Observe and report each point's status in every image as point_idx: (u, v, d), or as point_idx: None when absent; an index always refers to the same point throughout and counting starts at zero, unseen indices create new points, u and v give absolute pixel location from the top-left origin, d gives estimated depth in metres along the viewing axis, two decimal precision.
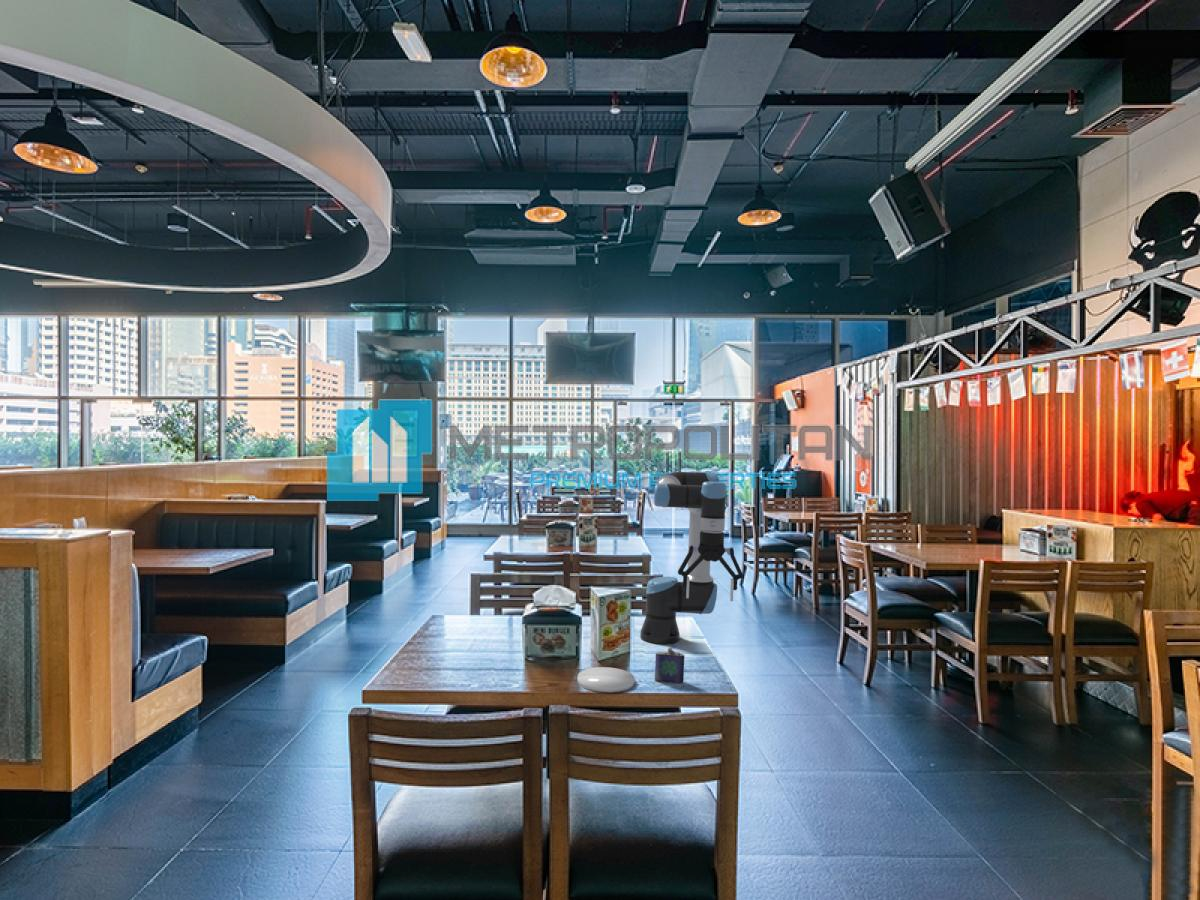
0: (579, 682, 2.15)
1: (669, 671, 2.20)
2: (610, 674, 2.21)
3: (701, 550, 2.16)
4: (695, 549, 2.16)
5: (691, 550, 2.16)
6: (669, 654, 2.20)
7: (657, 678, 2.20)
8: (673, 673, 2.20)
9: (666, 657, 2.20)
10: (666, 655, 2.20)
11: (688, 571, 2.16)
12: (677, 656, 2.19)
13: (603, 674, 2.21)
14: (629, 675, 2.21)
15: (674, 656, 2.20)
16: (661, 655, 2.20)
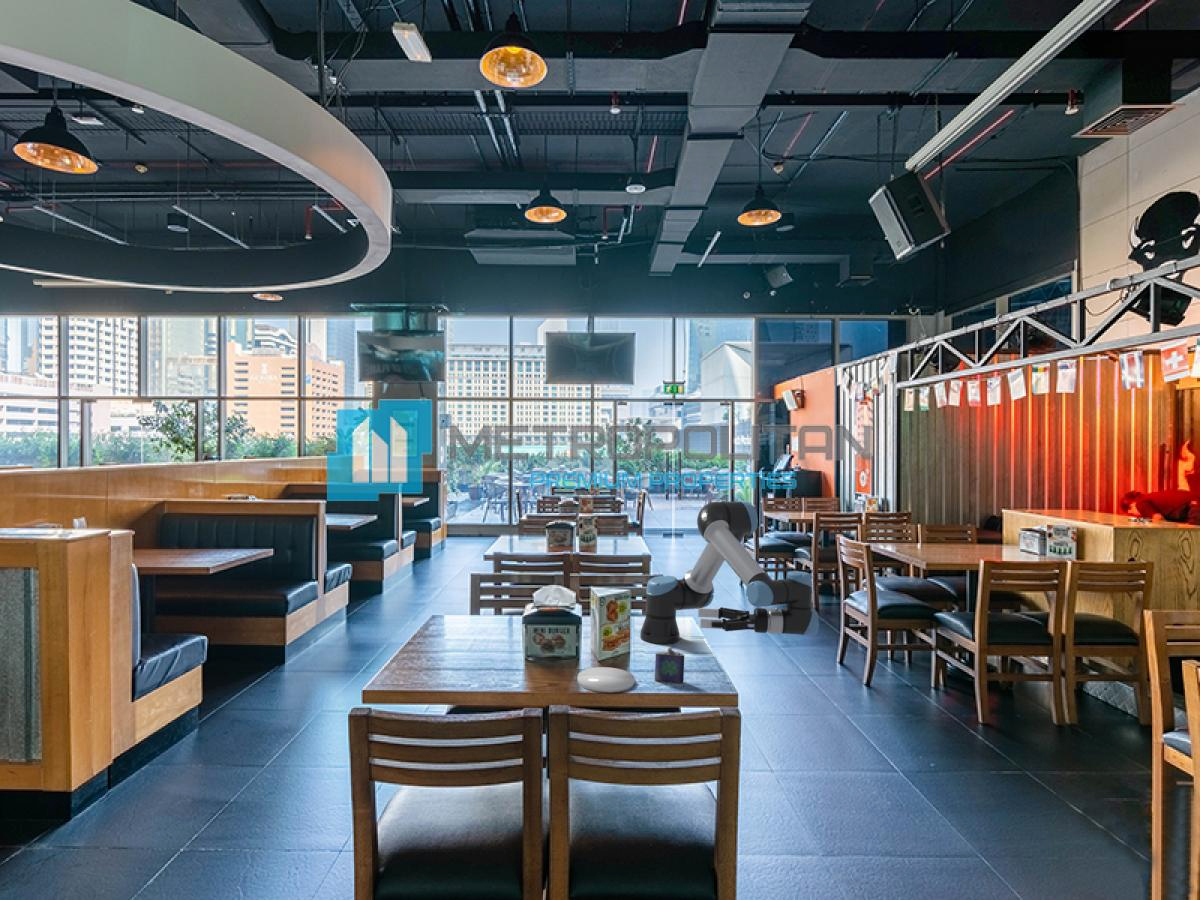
0: (579, 682, 2.15)
1: (669, 671, 2.20)
2: (610, 674, 2.21)
3: None
4: None
5: (745, 611, 2.25)
6: (669, 654, 2.20)
7: (657, 679, 2.20)
8: (673, 673, 2.20)
9: (666, 657, 2.20)
10: (666, 655, 2.20)
11: (724, 609, 2.26)
12: (677, 656, 2.19)
13: (603, 674, 2.21)
14: (629, 675, 2.21)
15: (674, 656, 2.20)
16: (661, 655, 2.20)
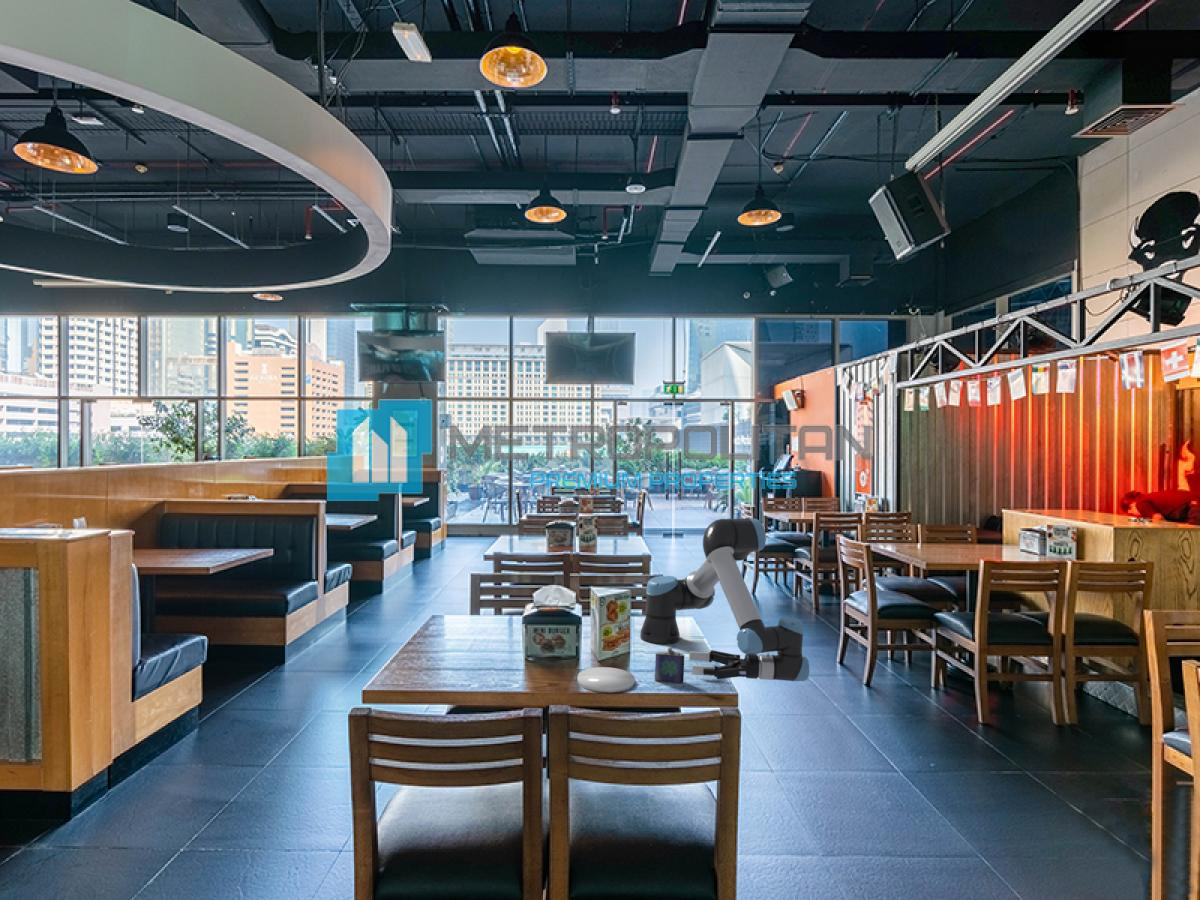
0: (579, 682, 2.15)
1: (669, 671, 2.20)
2: (610, 674, 2.21)
3: None
4: None
5: (735, 655, 2.26)
6: (669, 654, 2.20)
7: (657, 678, 2.20)
8: (673, 673, 2.20)
9: (666, 657, 2.20)
10: (666, 655, 2.20)
11: (715, 653, 2.27)
12: (677, 656, 2.19)
13: (603, 674, 2.21)
14: (629, 675, 2.21)
15: (674, 656, 2.20)
16: (661, 655, 2.20)
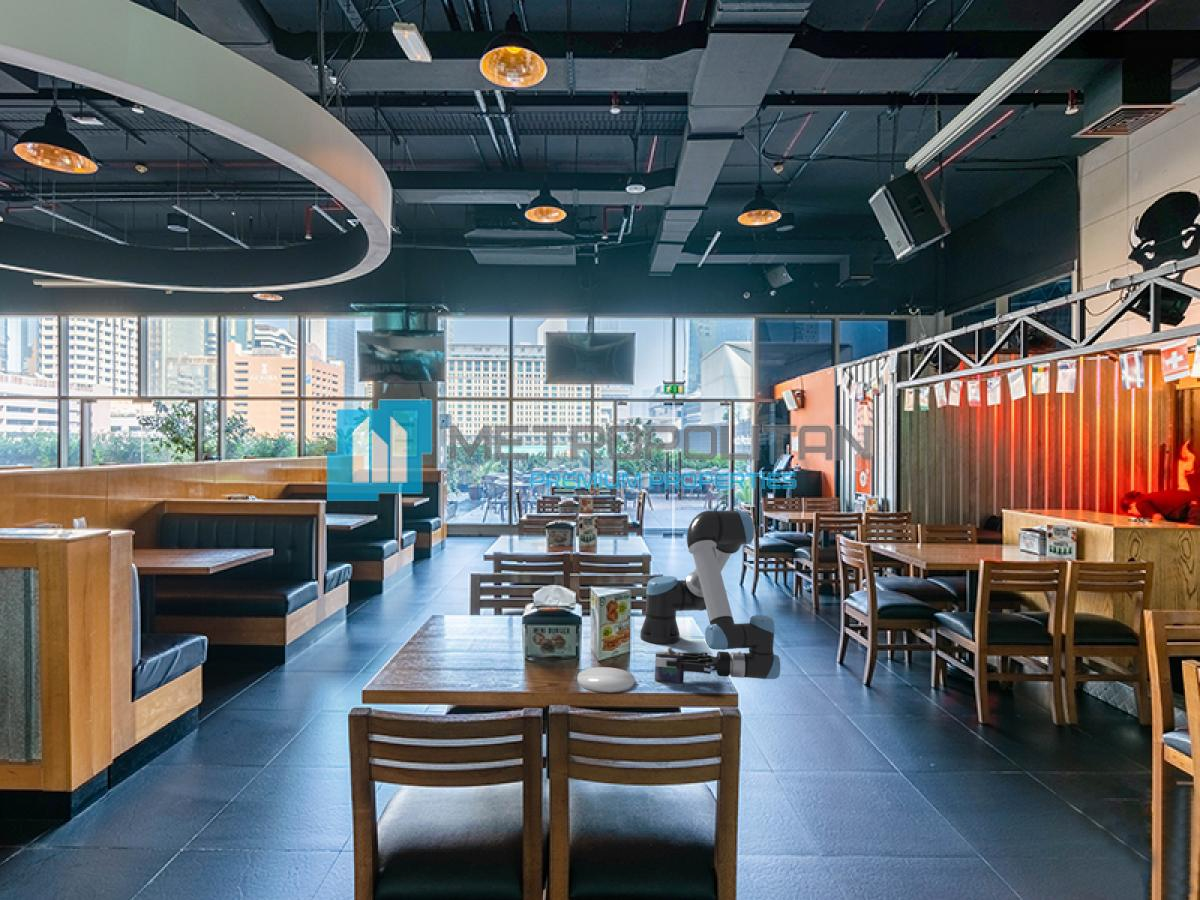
0: (579, 682, 2.15)
1: (669, 671, 2.20)
2: (610, 674, 2.21)
3: None
4: None
5: (703, 653, 2.26)
6: (669, 654, 2.20)
7: (657, 678, 2.20)
8: (673, 673, 2.20)
9: (666, 657, 2.20)
10: (666, 655, 2.20)
11: None
12: (677, 656, 2.20)
13: (603, 674, 2.21)
14: (629, 675, 2.21)
15: (674, 656, 2.20)
16: (661, 655, 2.20)
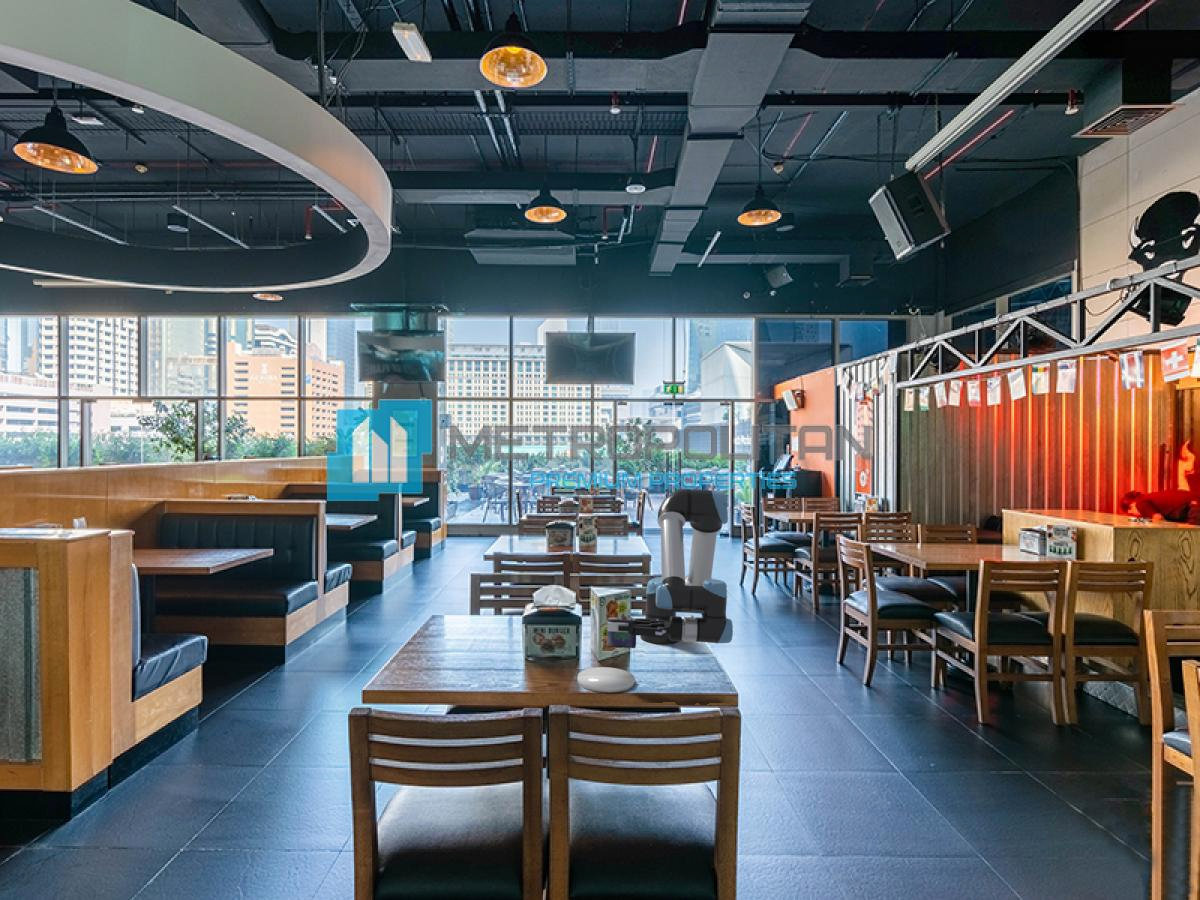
0: (579, 682, 2.15)
1: (622, 636, 2.18)
2: (610, 674, 2.21)
3: None
4: None
5: (657, 619, 2.23)
6: (621, 619, 2.18)
7: (609, 644, 2.17)
8: (626, 638, 2.17)
9: (618, 622, 2.17)
10: (618, 620, 2.17)
11: None
12: (629, 621, 2.17)
13: (603, 674, 2.21)
14: (629, 675, 2.21)
15: (626, 621, 2.17)
16: (613, 620, 2.17)
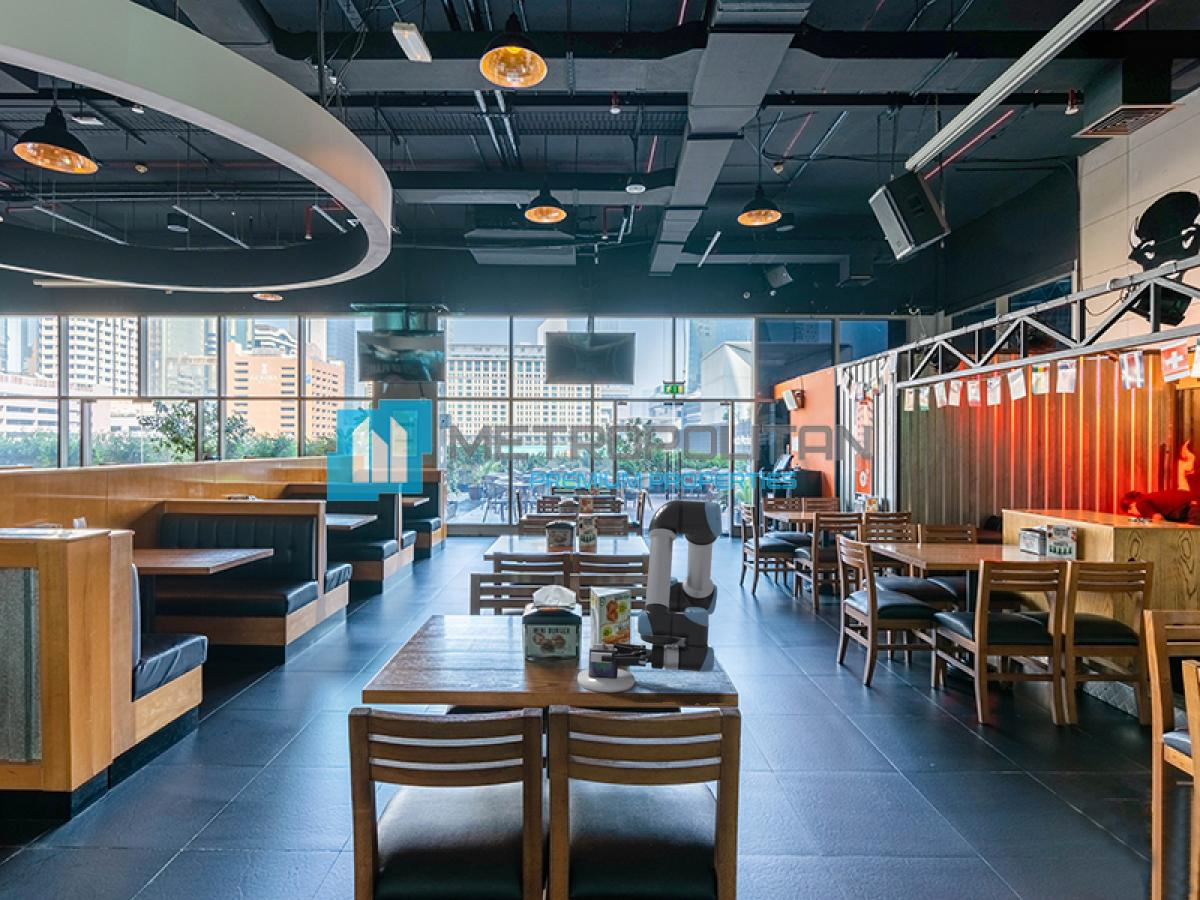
0: (579, 682, 2.15)
1: (603, 666, 2.18)
2: None
3: None
4: None
5: (641, 645, 2.24)
6: (603, 649, 2.18)
7: (591, 674, 2.17)
8: (607, 669, 2.17)
9: (600, 652, 2.17)
10: (600, 650, 2.17)
11: (619, 645, 2.23)
12: (611, 651, 2.17)
13: None
14: (629, 675, 2.21)
15: (608, 651, 2.17)
16: (595, 650, 2.17)
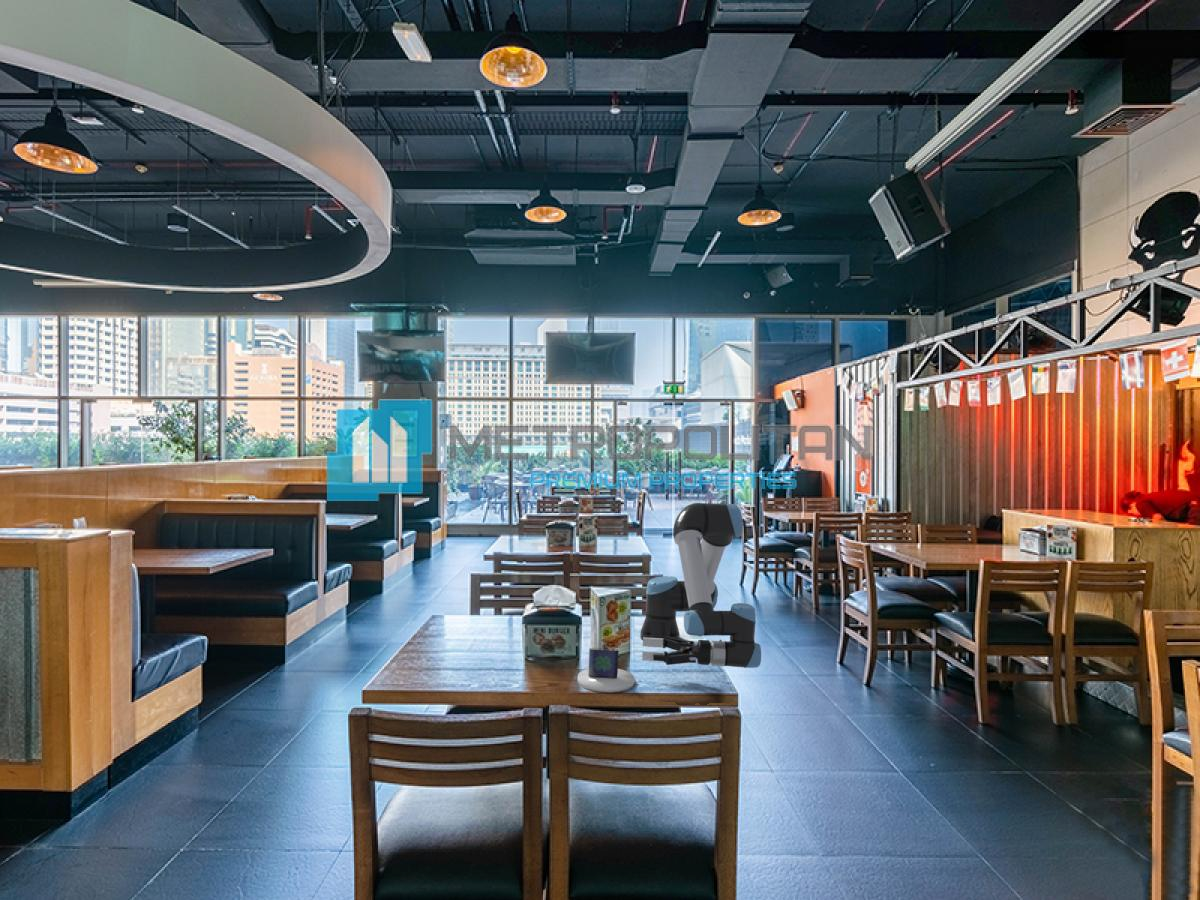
0: (579, 682, 2.15)
1: (603, 666, 2.18)
2: None
3: None
4: None
5: (689, 641, 2.24)
6: (603, 649, 2.18)
7: (591, 674, 2.17)
8: (607, 669, 2.17)
9: (600, 652, 2.17)
10: (600, 650, 2.17)
11: (668, 639, 2.25)
12: (611, 651, 2.17)
13: None
14: (629, 675, 2.21)
15: (608, 651, 2.17)
16: (595, 650, 2.17)
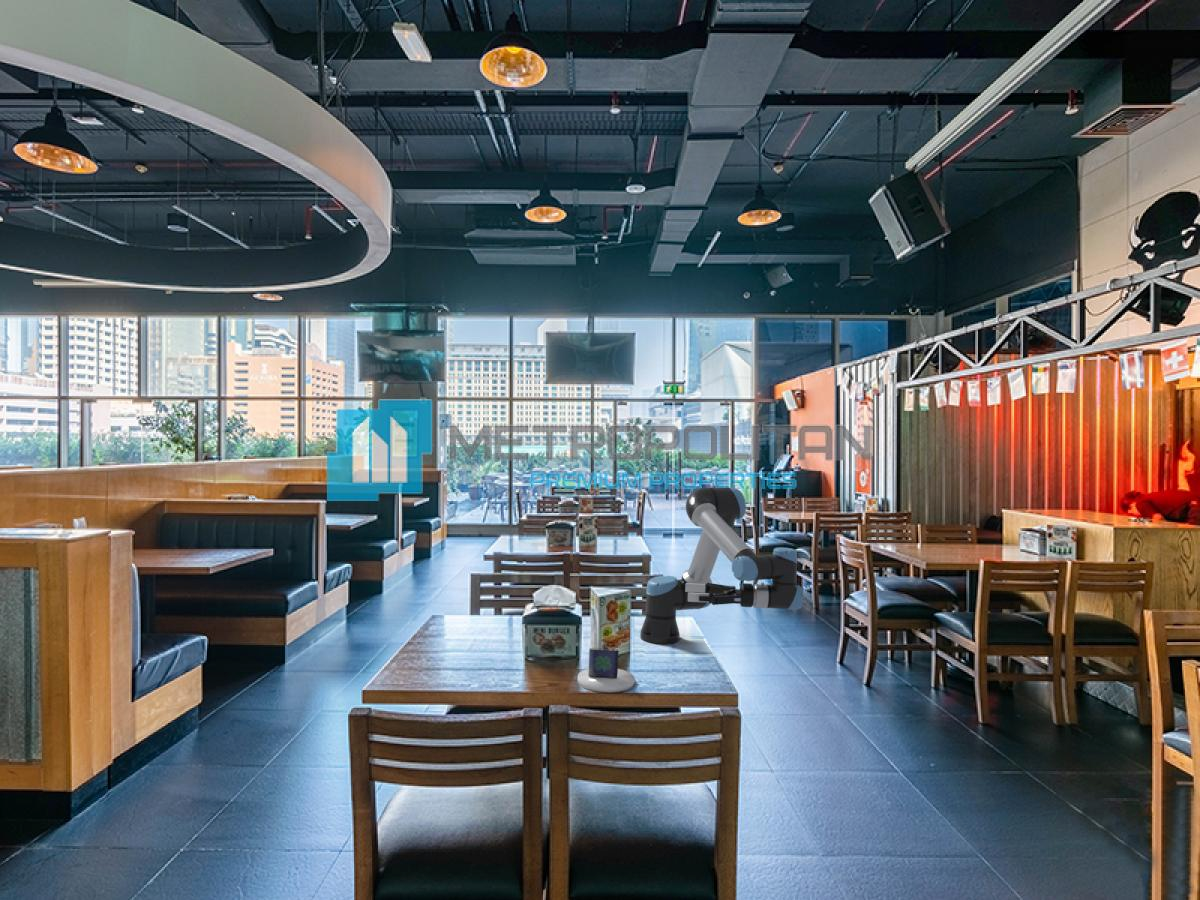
0: (579, 682, 2.15)
1: (603, 666, 2.18)
2: None
3: None
4: None
5: (731, 586, 2.29)
6: (603, 649, 2.18)
7: (591, 674, 2.17)
8: (607, 669, 2.17)
9: (600, 652, 2.17)
10: (600, 650, 2.17)
11: (711, 585, 2.30)
12: (611, 651, 2.17)
13: None
14: (629, 675, 2.21)
15: (608, 651, 2.17)
16: (595, 650, 2.17)
